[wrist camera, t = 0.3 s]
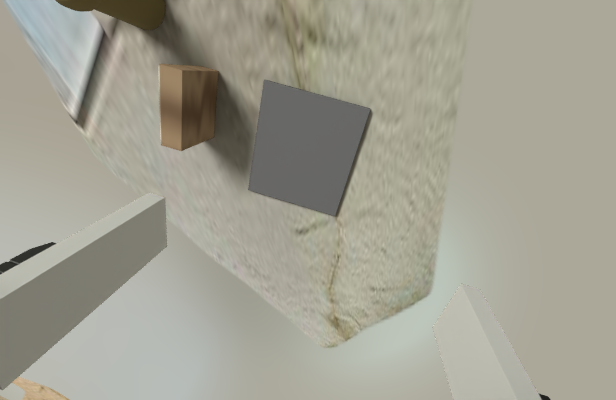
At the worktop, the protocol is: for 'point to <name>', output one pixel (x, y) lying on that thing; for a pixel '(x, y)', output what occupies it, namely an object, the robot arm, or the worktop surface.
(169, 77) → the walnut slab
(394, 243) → the worktop surface
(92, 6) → the cork
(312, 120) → the mat
